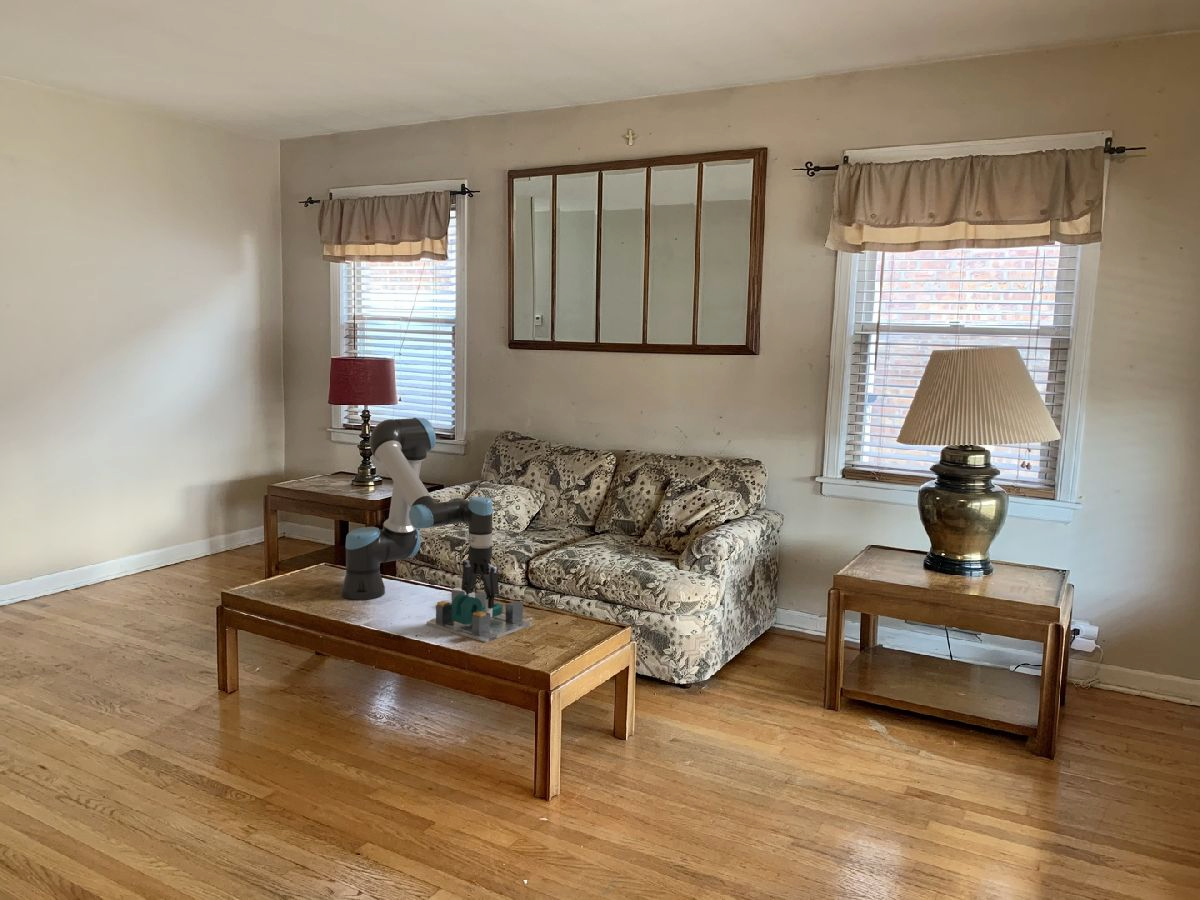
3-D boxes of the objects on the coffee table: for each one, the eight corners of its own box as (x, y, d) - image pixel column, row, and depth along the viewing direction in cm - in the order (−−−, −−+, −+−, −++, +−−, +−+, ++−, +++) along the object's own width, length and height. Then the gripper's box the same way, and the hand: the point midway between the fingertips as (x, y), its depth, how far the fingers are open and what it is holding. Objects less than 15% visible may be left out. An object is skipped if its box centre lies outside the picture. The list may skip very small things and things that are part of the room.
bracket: (465, 625, 287) (466, 600, 286) (451, 620, 291) (451, 596, 290) (507, 612, 301) (507, 589, 300) (492, 608, 305) (493, 585, 304)
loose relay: (451, 606, 315) (451, 589, 314) (458, 602, 320) (458, 585, 319) (464, 608, 313) (464, 591, 312) (471, 604, 318) (471, 587, 317)
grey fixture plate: (426, 624, 295) (426, 601, 294) (474, 609, 313) (474, 586, 312) (485, 642, 280) (485, 617, 279) (532, 624, 298) (532, 601, 297)
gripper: (449, 543, 296) (449, 611, 299) (495, 552, 284) (494, 624, 287) (466, 539, 302) (465, 606, 305) (511, 548, 290) (510, 618, 293)
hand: (479, 615), depth 296 cm, fingers closed on bracket, 7 cm apart
